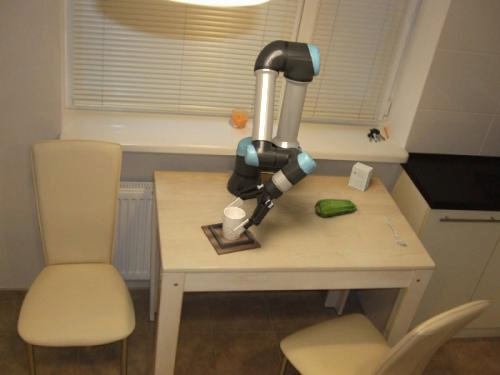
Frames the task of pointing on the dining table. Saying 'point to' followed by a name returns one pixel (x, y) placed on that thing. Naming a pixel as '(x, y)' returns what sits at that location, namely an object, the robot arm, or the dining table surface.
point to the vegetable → (334, 207)
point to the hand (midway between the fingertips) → (232, 221)
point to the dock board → (229, 246)
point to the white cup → (232, 222)
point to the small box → (360, 176)
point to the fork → (394, 231)
